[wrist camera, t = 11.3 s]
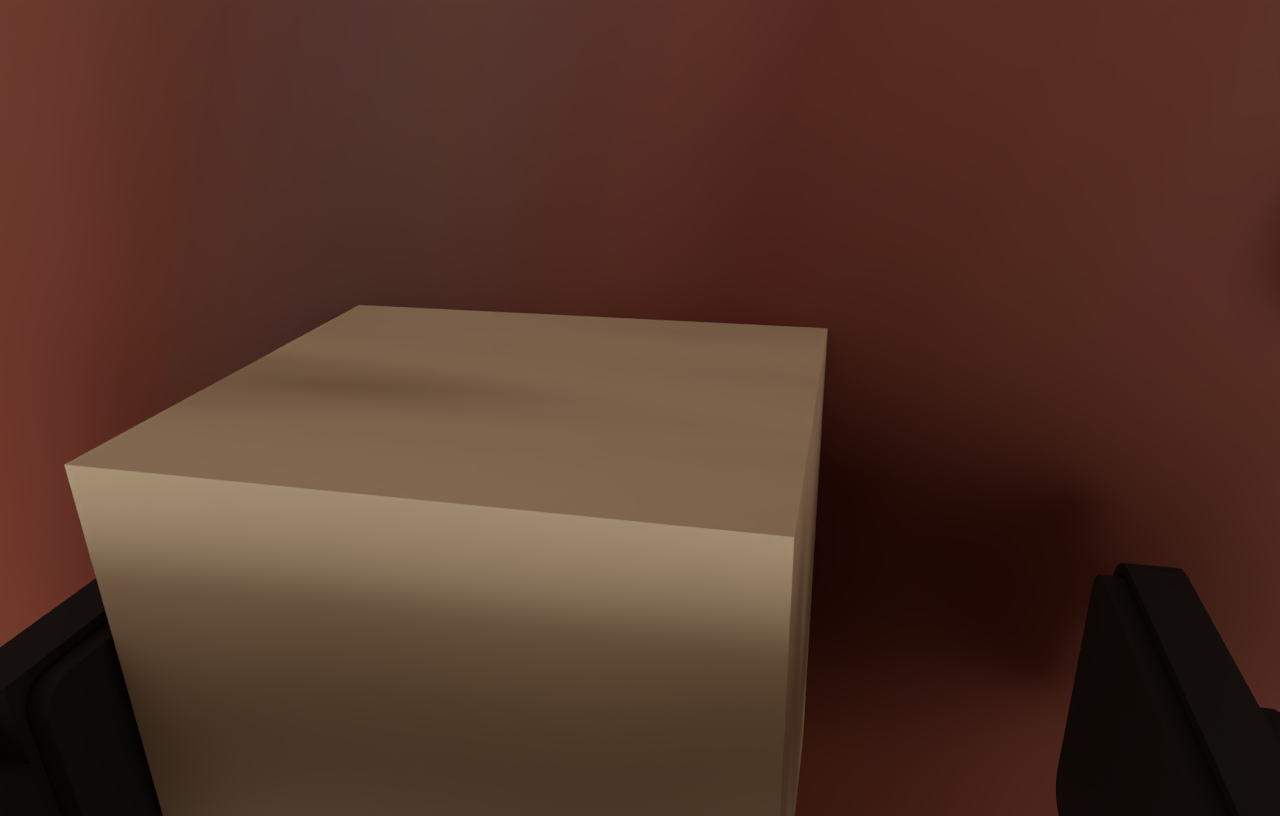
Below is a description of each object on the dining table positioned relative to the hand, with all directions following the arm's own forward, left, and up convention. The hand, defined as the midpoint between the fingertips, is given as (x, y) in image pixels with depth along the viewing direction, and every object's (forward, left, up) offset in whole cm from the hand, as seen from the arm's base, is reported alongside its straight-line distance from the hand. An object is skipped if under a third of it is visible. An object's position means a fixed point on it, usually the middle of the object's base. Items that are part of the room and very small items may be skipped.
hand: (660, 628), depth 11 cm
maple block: (0, +1, -2) cm, 2 cm away
